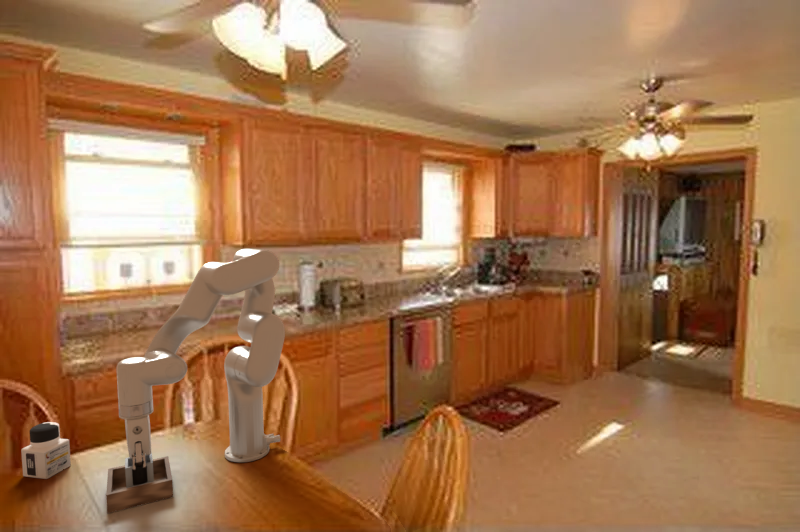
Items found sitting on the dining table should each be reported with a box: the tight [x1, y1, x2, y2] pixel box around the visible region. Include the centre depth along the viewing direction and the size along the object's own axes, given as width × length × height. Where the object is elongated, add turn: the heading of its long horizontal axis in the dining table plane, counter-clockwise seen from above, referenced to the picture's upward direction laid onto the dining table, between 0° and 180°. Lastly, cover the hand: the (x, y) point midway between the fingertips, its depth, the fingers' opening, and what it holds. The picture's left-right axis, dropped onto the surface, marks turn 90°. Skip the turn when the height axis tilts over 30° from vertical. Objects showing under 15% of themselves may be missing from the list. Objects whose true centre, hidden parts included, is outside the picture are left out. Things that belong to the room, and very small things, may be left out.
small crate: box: [124, 452, 154, 488], centre depth 124 cm, size 6×6×5 cm
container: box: [20, 421, 72, 480], centre depth 134 cm, size 8×8×13 cm
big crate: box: [105, 455, 174, 514], centre depth 124 cm, size 14×14×4 cm
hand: (140, 476), depth 124 cm, fingers closed on small crate, 5 cm apart
